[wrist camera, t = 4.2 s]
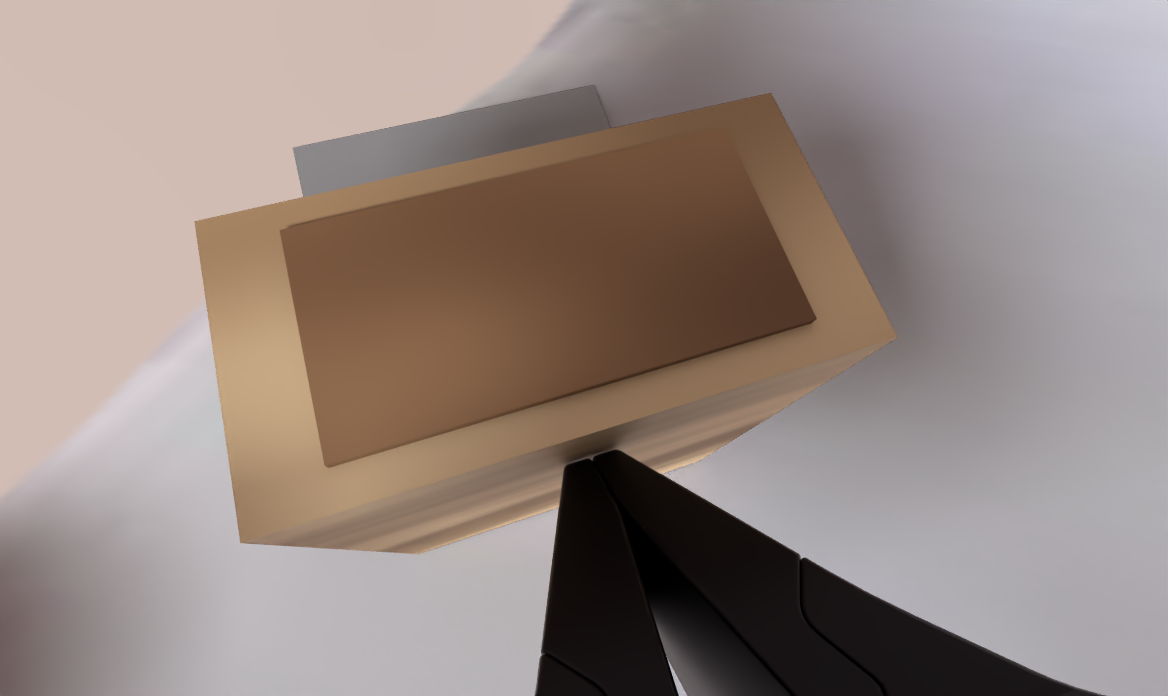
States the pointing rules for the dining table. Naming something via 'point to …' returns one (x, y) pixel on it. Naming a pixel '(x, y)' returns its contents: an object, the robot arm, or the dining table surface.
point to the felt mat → (448, 140)
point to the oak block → (522, 325)
